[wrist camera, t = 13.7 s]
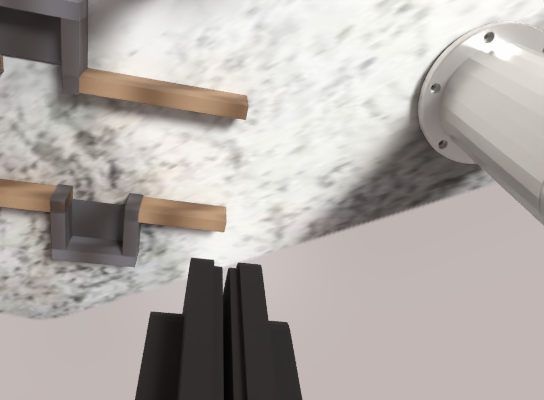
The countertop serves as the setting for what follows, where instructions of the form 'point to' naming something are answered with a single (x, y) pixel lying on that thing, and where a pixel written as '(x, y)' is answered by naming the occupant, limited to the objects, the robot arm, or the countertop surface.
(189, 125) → the countertop surface
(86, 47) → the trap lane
